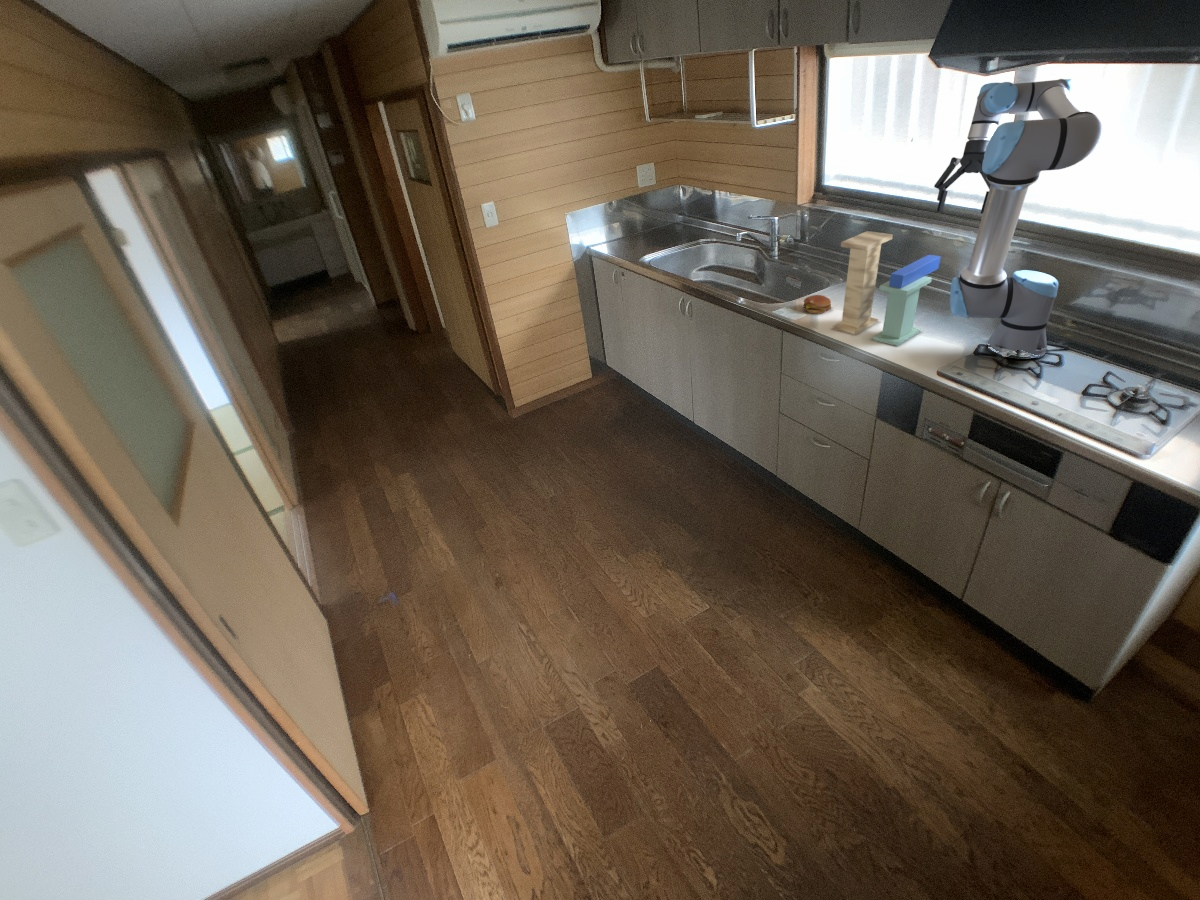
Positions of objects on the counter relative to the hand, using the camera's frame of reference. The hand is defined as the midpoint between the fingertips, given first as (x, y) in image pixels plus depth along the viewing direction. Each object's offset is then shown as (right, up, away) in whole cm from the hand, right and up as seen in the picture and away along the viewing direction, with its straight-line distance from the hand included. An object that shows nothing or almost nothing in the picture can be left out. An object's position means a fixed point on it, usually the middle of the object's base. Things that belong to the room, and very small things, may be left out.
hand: (960, 212), depth 199 cm
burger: (-37, -25, +29) cm, 53 cm away
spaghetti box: (-18, -22, -4) cm, 29 cm away
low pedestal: (-19, -40, +3) cm, 44 cm away
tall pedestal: (-29, -34, +14) cm, 47 cm away
